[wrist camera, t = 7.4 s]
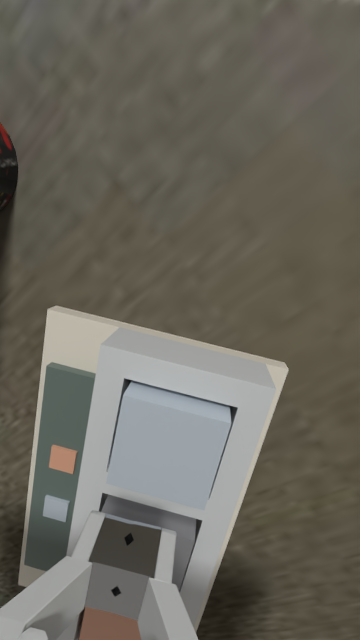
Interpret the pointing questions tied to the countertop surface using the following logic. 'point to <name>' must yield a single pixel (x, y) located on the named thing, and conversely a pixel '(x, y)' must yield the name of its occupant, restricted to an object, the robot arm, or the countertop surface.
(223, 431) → the key blue
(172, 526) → the key charcoal
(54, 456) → the keypad
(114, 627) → the key terracotta
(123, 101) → the countertop surface
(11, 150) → the deodorant
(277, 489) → the countertop surface
